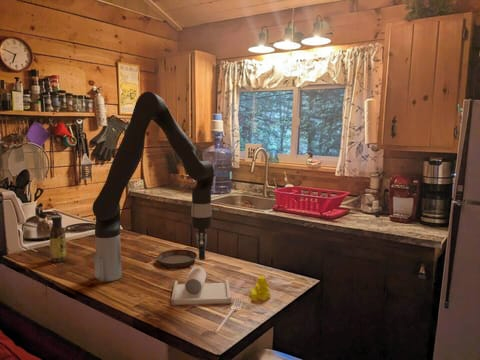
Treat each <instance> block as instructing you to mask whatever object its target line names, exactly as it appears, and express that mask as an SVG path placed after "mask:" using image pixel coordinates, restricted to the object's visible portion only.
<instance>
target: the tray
mask: <svg viewBox="0 0 480 360" xmlns="http://www.w3.org/2000/svg"><path fill="white" fill-rule="evenodd" d="M172 289H173V290H172V295H171V298H170V305H171V306H197V305H199V306H200V305H202V306H203V305H227V304H228V305H229V304H232V297H231V290H230V289H231V287H230V281H229V279H225V282H217V283H214V282H212V283H204V285H203V288H202V290H201V291H200V292H199V293H197V294H190V293H188V292H187V291H186V288H185V283H179V281H178V280H174V284H173V288H172Z"/></svg>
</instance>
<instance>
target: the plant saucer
mask: <svg viewBox="0 0 480 360" xmlns="http://www.w3.org/2000/svg"><path fill="white" fill-rule="evenodd" d="M197 258H198V254H197V252H195V251H194V250H191V249H190V250H189V249H179V248H177V249H170V250H166V251H162V252H161V253H158V255H156V260H157V261H158V262H159V264H160V265H162V266H164V267H167V268H183V267H188V266H190V265H192V264H193V263H194V262H195V261H196V259H197Z"/></svg>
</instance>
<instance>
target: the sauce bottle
mask: <svg viewBox="0 0 480 360" xmlns="http://www.w3.org/2000/svg"><path fill="white" fill-rule="evenodd" d="M62 219H63V216H62V215H52V216H51V222H52V224H51V226H52V228H51V229H50V230H49V251H50V253H49V254H50V260H51V262H52V263H60V262H63V261H66V259H67V246H66V244H67V242H66V231H65V229H64V227H63V224H62Z"/></svg>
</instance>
